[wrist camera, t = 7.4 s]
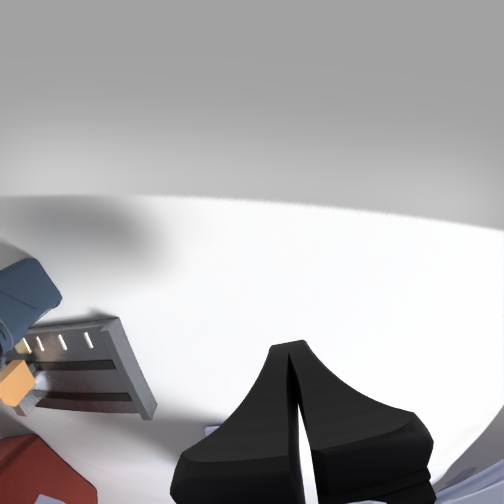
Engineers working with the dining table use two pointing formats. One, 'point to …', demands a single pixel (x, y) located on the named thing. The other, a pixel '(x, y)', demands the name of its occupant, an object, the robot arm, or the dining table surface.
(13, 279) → the vaping device
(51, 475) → the plant pot
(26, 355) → the mixer console
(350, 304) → the dining table surface
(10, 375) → the orange fader
